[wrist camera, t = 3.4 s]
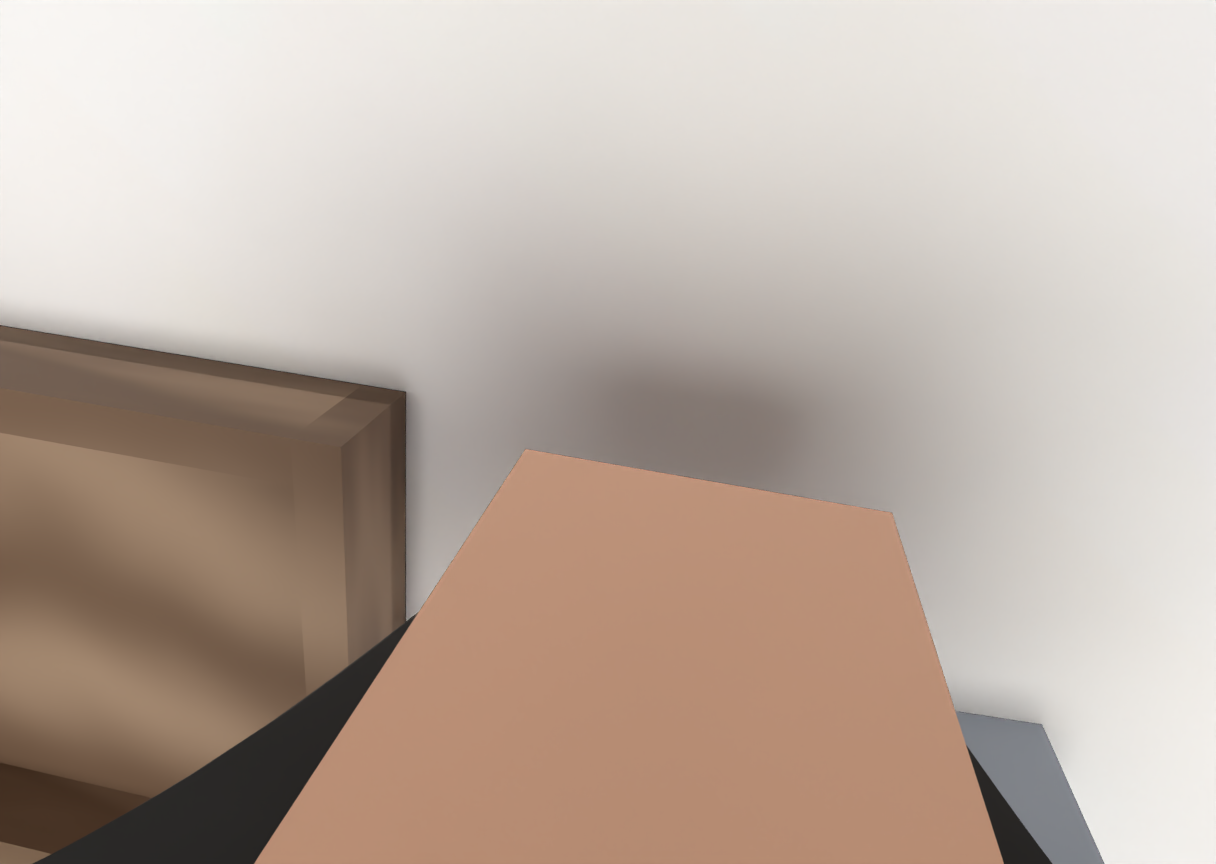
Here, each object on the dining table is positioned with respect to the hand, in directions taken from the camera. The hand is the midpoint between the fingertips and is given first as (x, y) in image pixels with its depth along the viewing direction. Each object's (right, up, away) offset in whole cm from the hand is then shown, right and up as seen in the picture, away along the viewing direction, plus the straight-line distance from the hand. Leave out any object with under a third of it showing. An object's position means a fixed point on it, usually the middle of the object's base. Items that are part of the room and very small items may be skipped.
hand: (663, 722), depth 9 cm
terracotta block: (0, +1, +2) cm, 2 cm away
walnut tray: (-13, -1, +12) cm, 18 cm away
